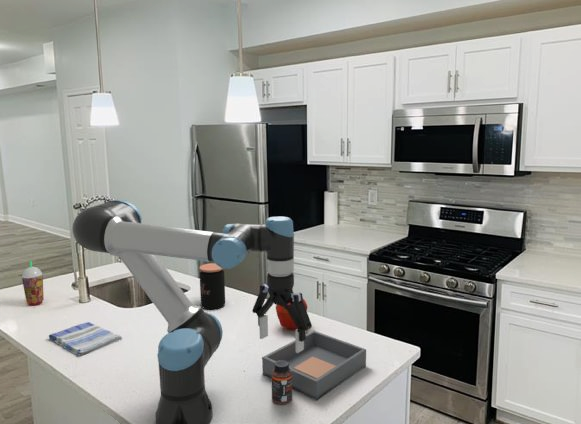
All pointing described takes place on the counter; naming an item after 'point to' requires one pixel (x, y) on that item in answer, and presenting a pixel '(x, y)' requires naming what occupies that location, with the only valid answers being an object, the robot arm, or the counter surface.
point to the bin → (318, 363)
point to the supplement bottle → (281, 383)
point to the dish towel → (84, 338)
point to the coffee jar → (212, 286)
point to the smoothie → (33, 285)
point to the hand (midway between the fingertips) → (281, 344)
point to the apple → (286, 317)
